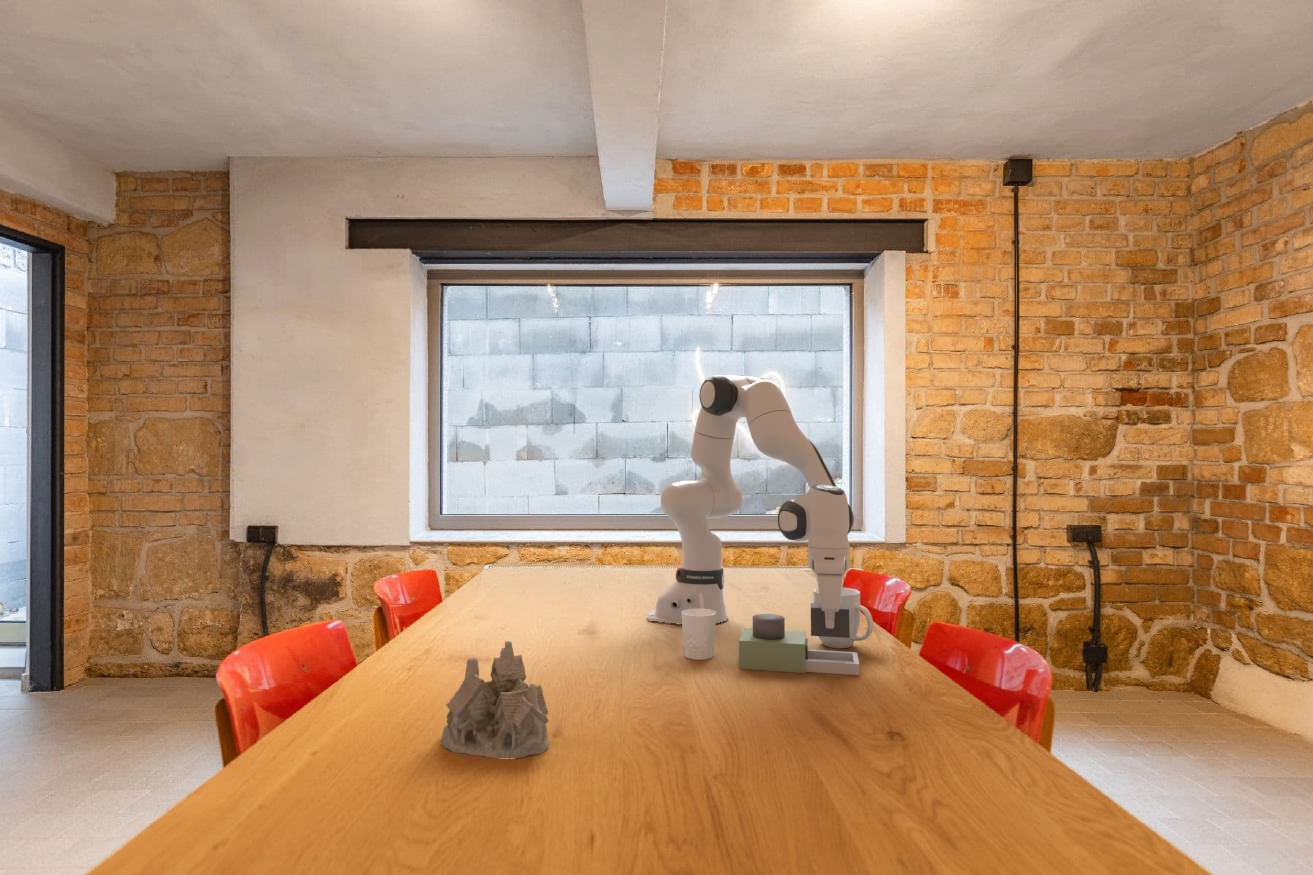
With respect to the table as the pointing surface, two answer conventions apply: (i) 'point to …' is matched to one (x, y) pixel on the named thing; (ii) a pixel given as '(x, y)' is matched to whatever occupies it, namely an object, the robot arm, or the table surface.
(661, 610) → the robot arm
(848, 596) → the mug
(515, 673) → the ceramic cottage
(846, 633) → the tall grey rectangular block
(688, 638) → the white cup
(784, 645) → the green box with dome
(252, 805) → the table surface
